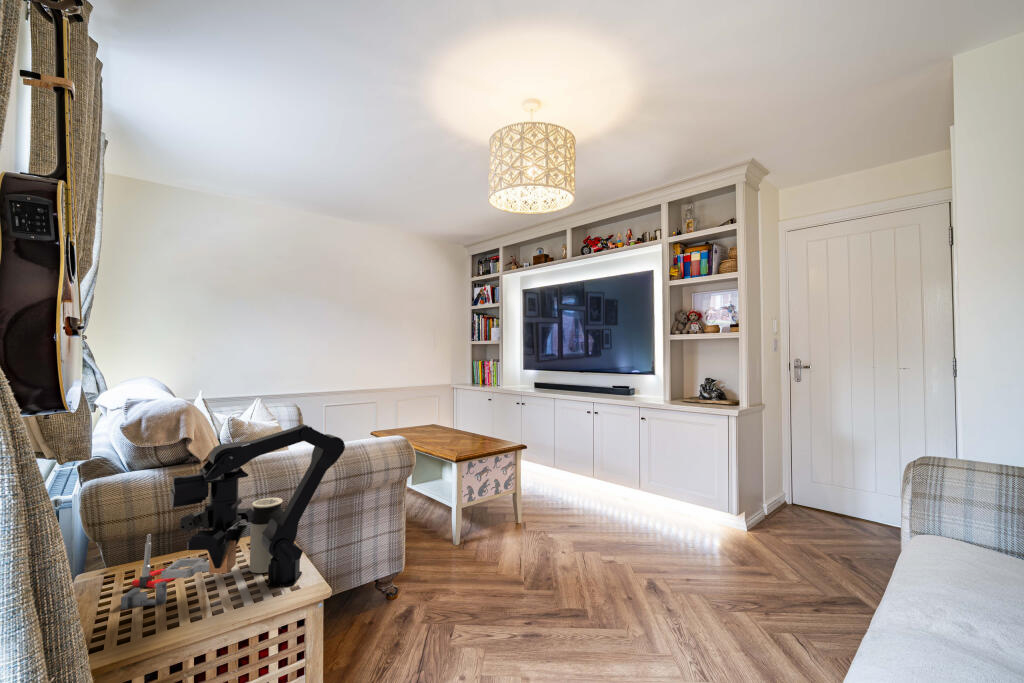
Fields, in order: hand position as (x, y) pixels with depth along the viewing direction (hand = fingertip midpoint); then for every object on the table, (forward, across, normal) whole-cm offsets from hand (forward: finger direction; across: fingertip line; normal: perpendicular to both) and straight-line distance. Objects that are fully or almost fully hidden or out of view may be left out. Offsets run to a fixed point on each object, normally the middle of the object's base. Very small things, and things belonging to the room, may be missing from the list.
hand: (222, 563), depth 107 cm
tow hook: (+9, -13, -22) cm, 27 cm away
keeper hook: (+9, -1, -17) cm, 19 cm away
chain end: (+1, 0, -5) cm, 5 cm away
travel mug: (+9, -17, +3) cm, 19 cm away
